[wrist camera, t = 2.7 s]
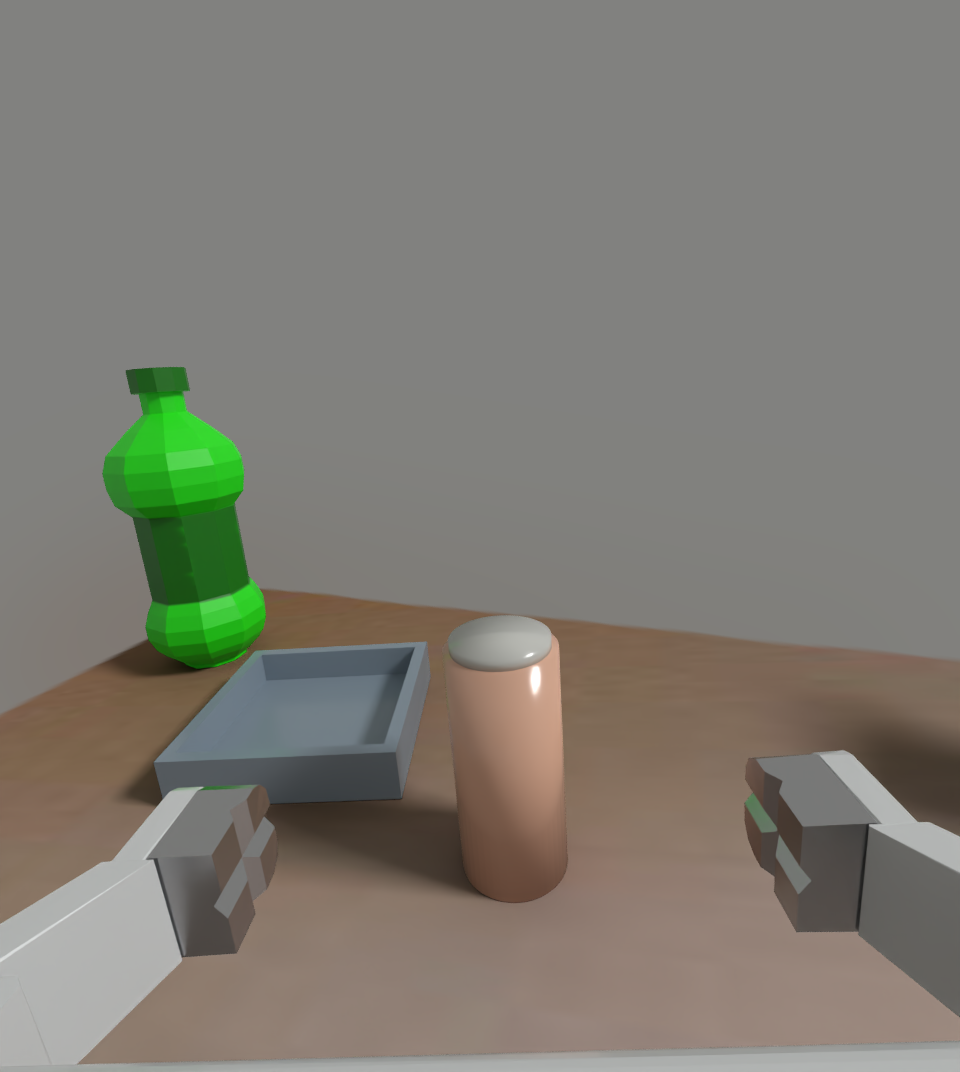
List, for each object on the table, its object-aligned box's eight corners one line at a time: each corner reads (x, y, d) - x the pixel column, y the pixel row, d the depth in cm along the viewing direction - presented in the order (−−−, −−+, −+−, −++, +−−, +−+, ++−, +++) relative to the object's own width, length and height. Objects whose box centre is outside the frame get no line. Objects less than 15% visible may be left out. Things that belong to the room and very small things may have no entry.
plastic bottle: (182, 636, 56) (122, 375, 50) (289, 626, 56) (244, 366, 50) (128, 688, 46) (45, 372, 40) (258, 675, 47) (197, 361, 40)
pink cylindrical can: (459, 904, 25) (434, 667, 22) (466, 819, 30) (446, 615, 27) (574, 901, 24) (564, 660, 22) (561, 815, 29) (552, 610, 26)
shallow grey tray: (165, 807, 32) (153, 762, 31) (262, 684, 45) (255, 650, 44) (401, 798, 31) (395, 752, 31) (430, 676, 45) (426, 641, 44)
